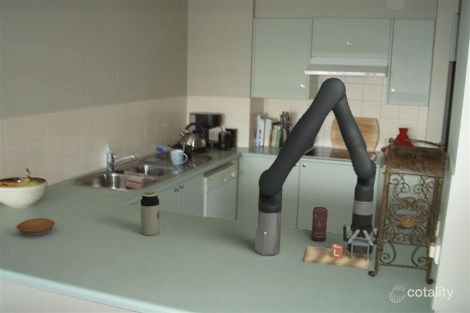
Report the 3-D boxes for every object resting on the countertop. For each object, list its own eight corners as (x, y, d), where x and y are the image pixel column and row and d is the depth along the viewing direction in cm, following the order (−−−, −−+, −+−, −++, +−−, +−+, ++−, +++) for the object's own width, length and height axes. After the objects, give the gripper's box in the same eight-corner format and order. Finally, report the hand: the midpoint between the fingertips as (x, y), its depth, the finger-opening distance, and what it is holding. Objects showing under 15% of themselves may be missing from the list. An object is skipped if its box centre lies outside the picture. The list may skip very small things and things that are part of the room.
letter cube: (331, 257, 185) (332, 247, 185) (332, 253, 189) (332, 243, 189) (342, 258, 184) (342, 248, 184) (342, 254, 188) (343, 244, 188)
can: (326, 242, 204) (328, 210, 201) (311, 241, 205) (312, 209, 202) (326, 237, 210) (328, 206, 207) (311, 236, 211) (313, 205, 208)
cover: (350, 257, 183) (351, 243, 182) (351, 251, 189) (351, 238, 188) (368, 259, 181) (369, 245, 180) (368, 253, 187) (368, 240, 186)
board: (303, 261, 184) (304, 259, 183) (307, 248, 197) (307, 246, 197) (369, 269, 178) (369, 266, 178) (368, 255, 191) (368, 252, 191)
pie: (55, 236, 206) (55, 225, 205) (16, 240, 200) (15, 229, 200) (55, 225, 220) (54, 214, 219) (17, 229, 215) (17, 218, 214)
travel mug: (137, 234, 210) (136, 194, 207) (147, 228, 217) (147, 190, 214) (153, 236, 207) (152, 196, 204) (162, 231, 214) (162, 192, 211)
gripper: (342, 212, 180) (340, 254, 183) (383, 215, 176) (379, 258, 179) (343, 206, 187) (341, 247, 190) (382, 210, 184) (378, 251, 187)
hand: (359, 252), depth 185 cm, fingers open, 6 cm apart
